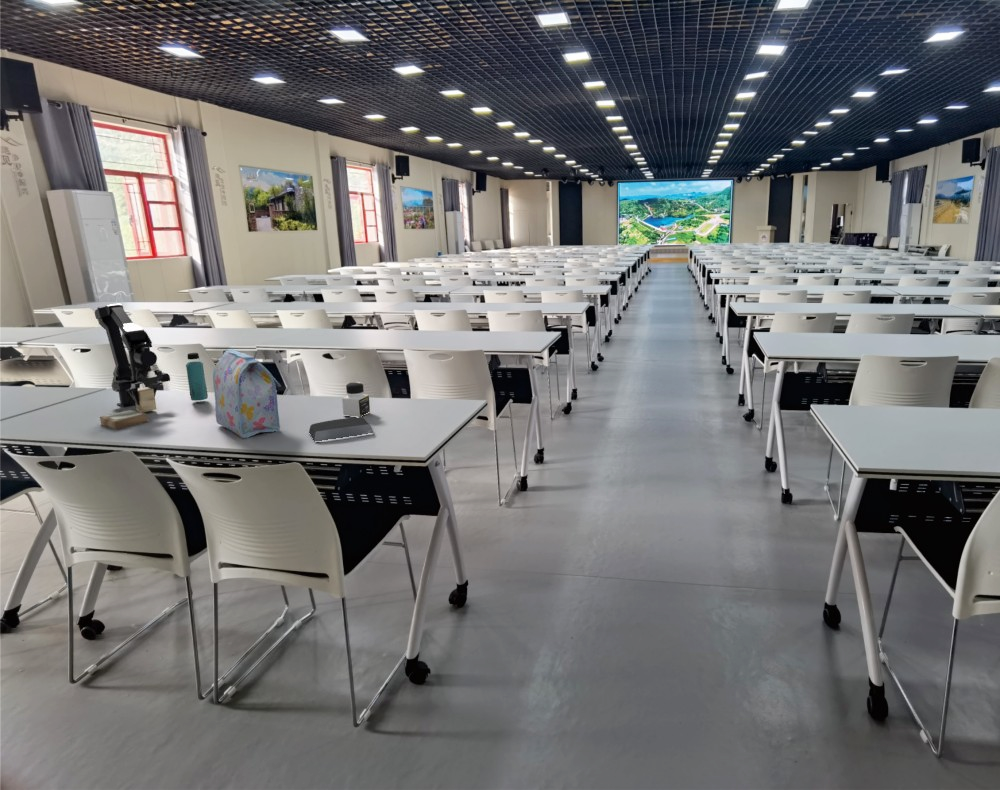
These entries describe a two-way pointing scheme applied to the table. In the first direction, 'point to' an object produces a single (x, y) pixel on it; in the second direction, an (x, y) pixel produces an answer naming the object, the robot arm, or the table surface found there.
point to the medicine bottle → (355, 400)
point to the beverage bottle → (196, 378)
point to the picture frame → (123, 419)
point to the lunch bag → (245, 395)
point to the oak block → (146, 400)
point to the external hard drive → (339, 428)
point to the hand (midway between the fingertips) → (145, 403)
